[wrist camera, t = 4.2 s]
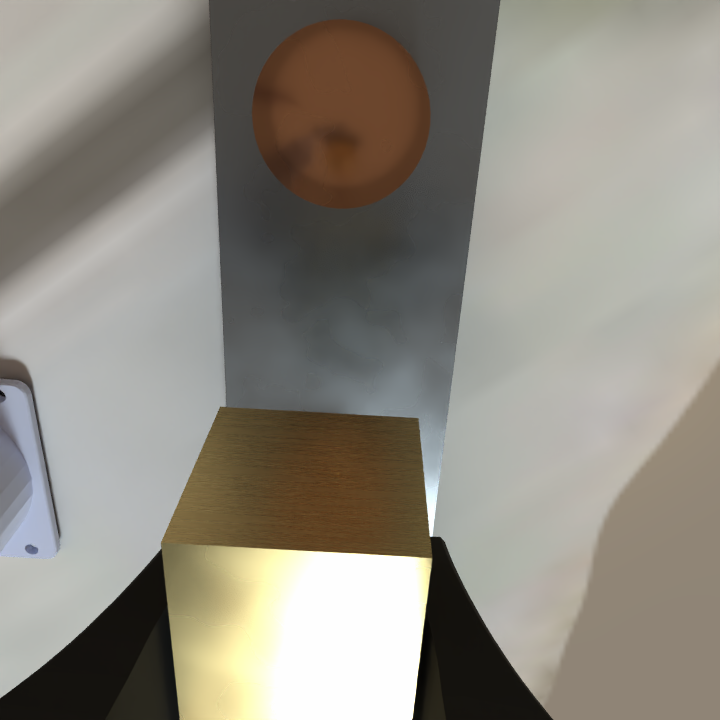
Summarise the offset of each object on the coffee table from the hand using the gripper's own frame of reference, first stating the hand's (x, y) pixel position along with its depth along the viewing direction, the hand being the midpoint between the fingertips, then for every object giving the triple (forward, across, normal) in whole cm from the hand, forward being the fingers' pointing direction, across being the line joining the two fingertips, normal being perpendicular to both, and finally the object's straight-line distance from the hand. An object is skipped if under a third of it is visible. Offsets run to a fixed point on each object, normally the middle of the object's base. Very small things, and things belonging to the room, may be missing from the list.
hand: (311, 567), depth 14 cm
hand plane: (+10, 0, 0) cm, 10 cm away
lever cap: (+1, 0, 0) cm, 1 cm away
